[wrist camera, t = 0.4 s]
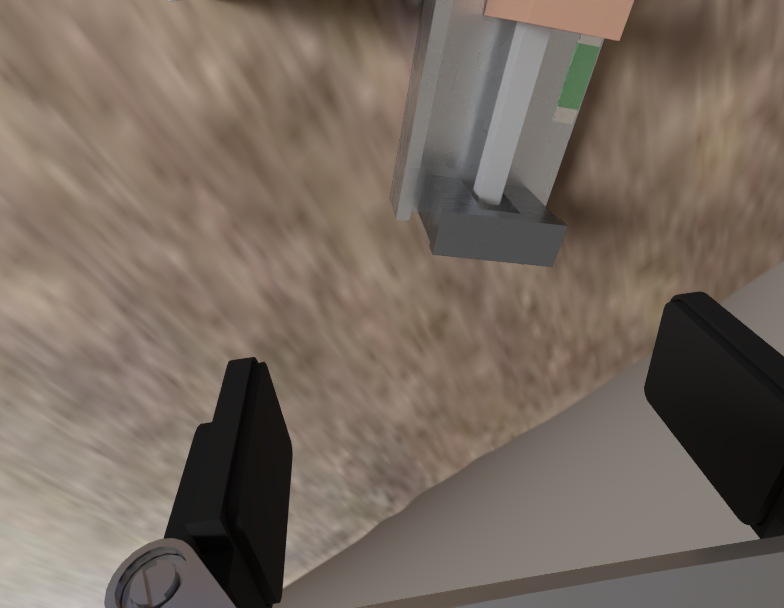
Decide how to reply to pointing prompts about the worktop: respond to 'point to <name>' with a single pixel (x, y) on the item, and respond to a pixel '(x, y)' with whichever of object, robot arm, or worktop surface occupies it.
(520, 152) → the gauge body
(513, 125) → the plunger
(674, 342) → the robot arm
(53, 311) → the worktop surface
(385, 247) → the worktop surface
